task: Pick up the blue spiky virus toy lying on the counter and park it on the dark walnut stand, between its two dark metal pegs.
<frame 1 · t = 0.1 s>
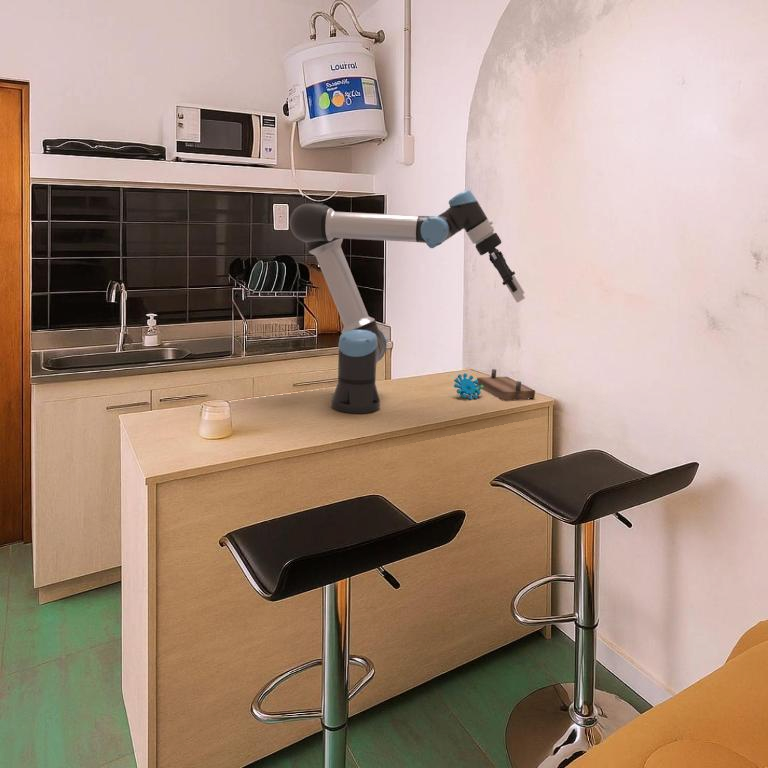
hand: (521, 297, 206), 36 cm above the countertop, tool tilted 35°, fingers open, 13 cm apart
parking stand: (504, 392, 236), on the countertop
blue spiky virus toy: (467, 397, 228), on the countertop
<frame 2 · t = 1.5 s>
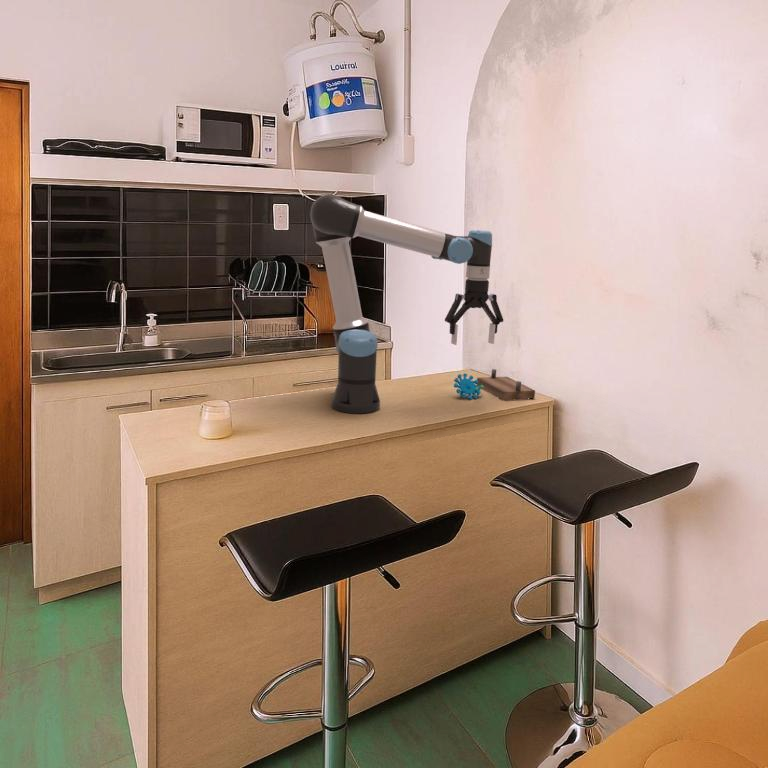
hand: (472, 343, 223), 18 cm above the countertop, tool pointing down, fingers open, 13 cm apart
nothing on the countertop moved.
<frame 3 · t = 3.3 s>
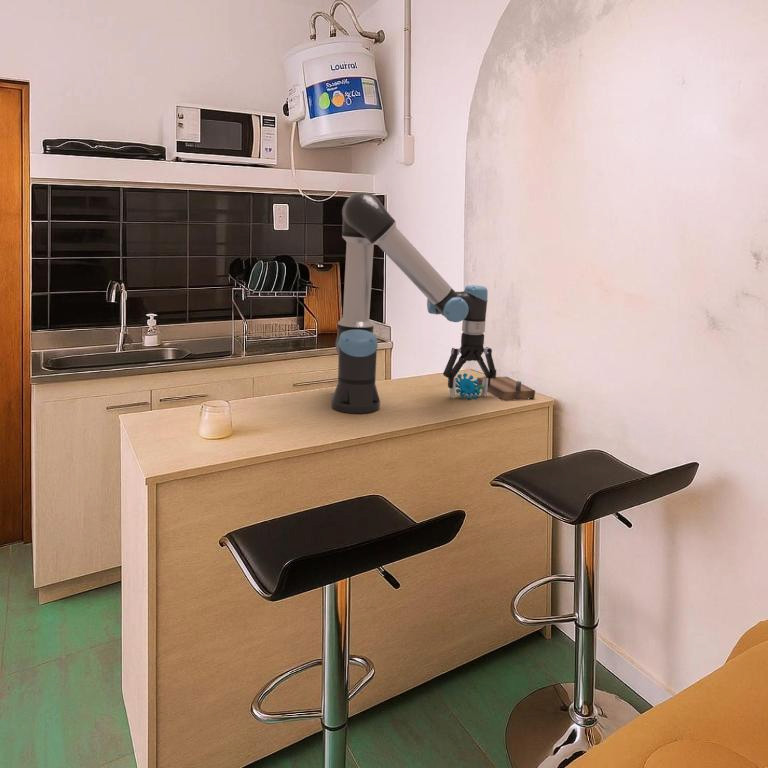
hand: (468, 396, 228), 0 cm above the countertop, tool pointing down, fingers closed on blue spiky virus toy, 11 cm apart
blue spiky virus toy: (467, 397, 228), on the countertop, touching gripper
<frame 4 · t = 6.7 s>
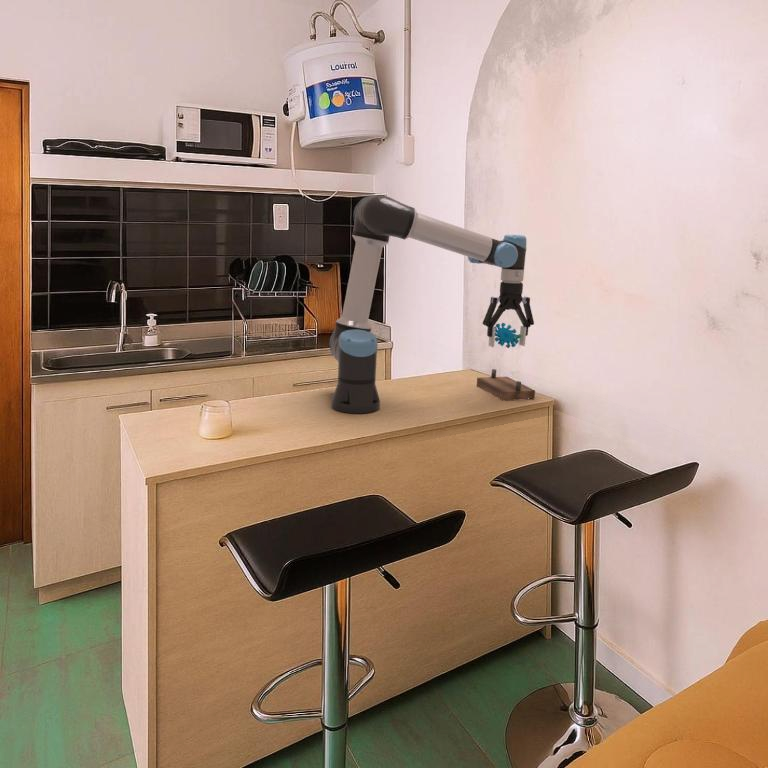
hand: (506, 345, 231), 17 cm above the countertop, tool pointing down, fingers closed on blue spiky virus toy, 11 cm apart
blue spiky virus toy: (506, 346, 232), point 16 cm above the countertop, touching gripper
when the fingers open (4 cm above the countertop, at t = 10.1 s): blue spiky virus toy drops 1 cm, resting on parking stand.
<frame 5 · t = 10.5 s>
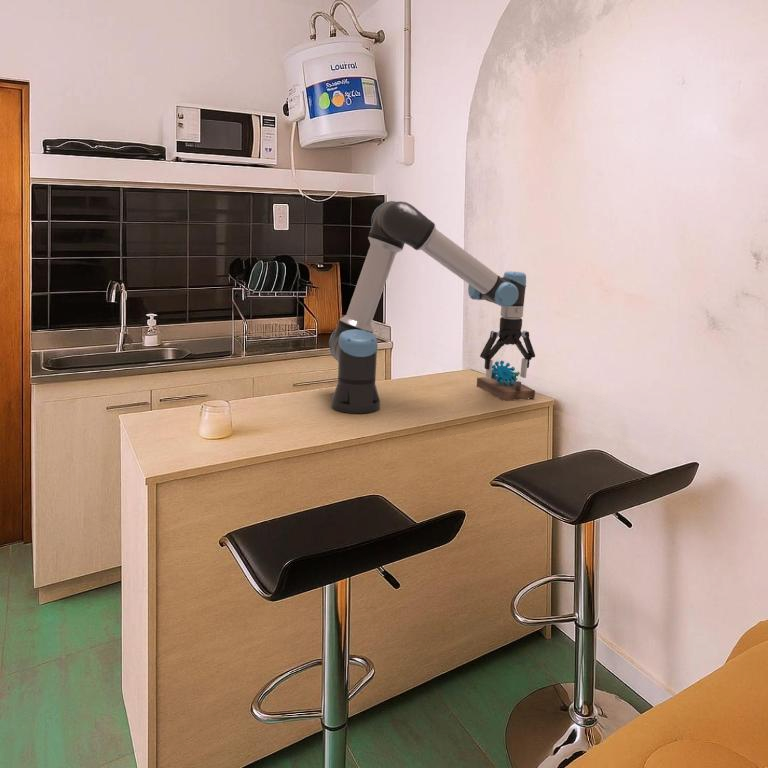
hand: (505, 377, 235), 5 cm above the countertop, tool pointing down, fingers open, 13 cm apart
blue spiky virus toy: (504, 384, 236), point 3 cm above the countertop, touching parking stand
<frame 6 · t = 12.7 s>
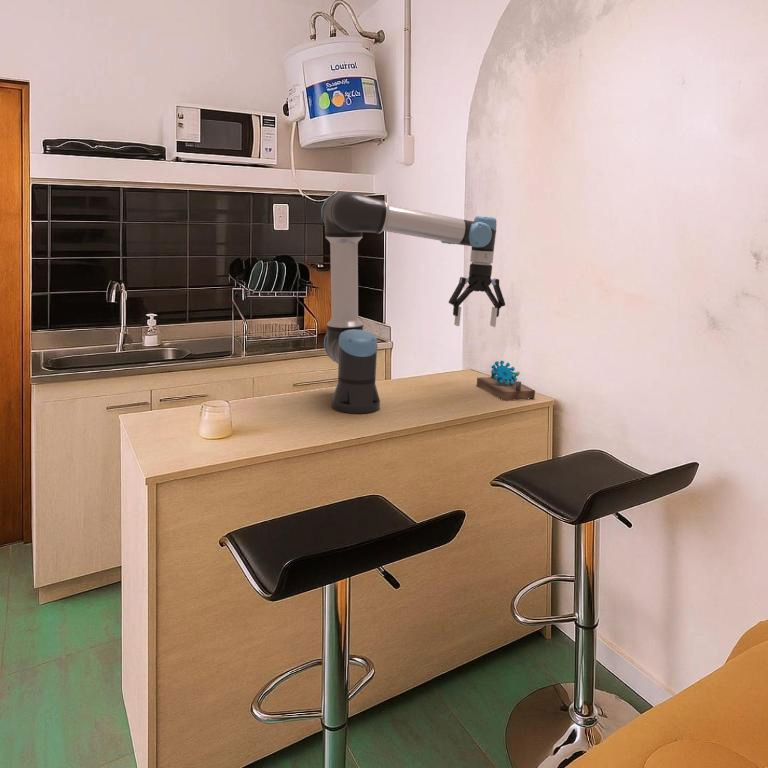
hand: (474, 325, 232), 23 cm above the countertop, tool pointing down, fingers open, 13 cm apart
nothing on the countertop moved.
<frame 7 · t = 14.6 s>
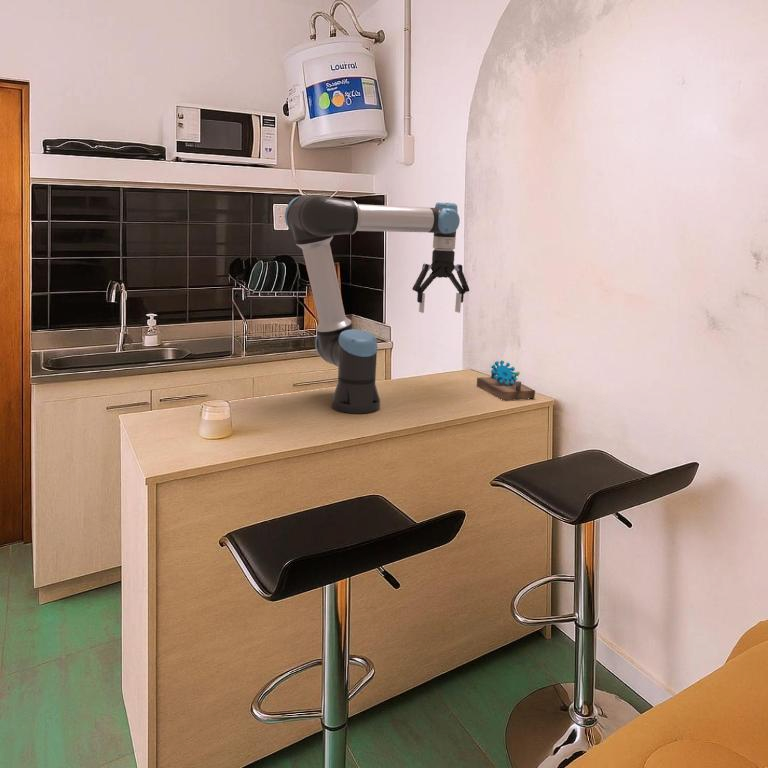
hand: (439, 312, 233), 27 cm above the countertop, tool pointing down, fingers open, 13 cm apart
nothing on the countertop moved.
at the end: blue spiky virus toy inside the target area on the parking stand (0.5 cm from its centre), point 2.8 cm above the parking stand's base; blue spiky virus toy tilted 0°; the gripper is holding nothing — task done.
